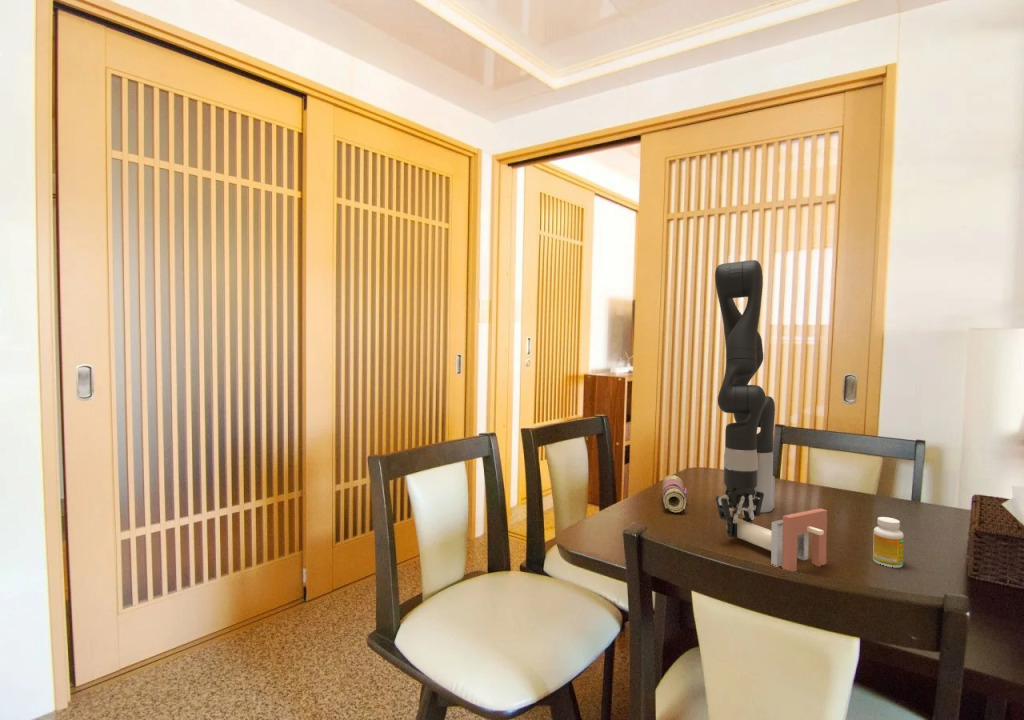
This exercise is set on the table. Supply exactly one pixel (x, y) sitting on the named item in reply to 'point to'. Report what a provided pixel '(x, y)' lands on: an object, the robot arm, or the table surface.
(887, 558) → the supplement bottle
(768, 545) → the white long cylinder
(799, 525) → the wall
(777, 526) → the grey u-shaped panel
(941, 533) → the table surface
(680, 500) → the scroll
